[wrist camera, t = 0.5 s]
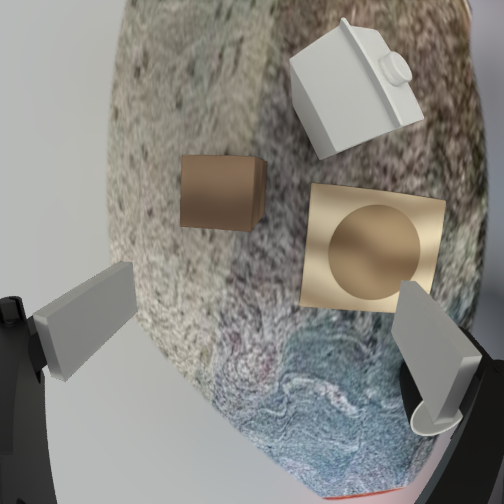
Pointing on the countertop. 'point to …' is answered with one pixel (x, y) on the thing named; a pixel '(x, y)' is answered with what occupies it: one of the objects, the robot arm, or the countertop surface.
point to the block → (222, 192)
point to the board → (367, 246)
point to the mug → (420, 408)
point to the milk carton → (350, 89)
